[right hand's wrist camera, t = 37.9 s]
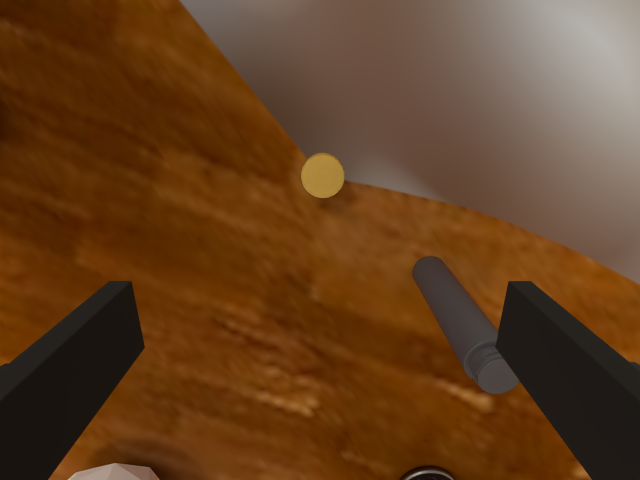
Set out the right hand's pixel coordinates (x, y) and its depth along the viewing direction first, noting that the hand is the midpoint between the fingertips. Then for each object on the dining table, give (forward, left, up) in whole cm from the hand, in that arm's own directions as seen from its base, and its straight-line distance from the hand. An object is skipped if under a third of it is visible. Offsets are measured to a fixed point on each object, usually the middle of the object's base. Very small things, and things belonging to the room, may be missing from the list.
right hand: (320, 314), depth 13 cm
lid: (0, 0, -28) cm, 28 cm away
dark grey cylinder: (+17, +6, -30) cm, 35 cm away
